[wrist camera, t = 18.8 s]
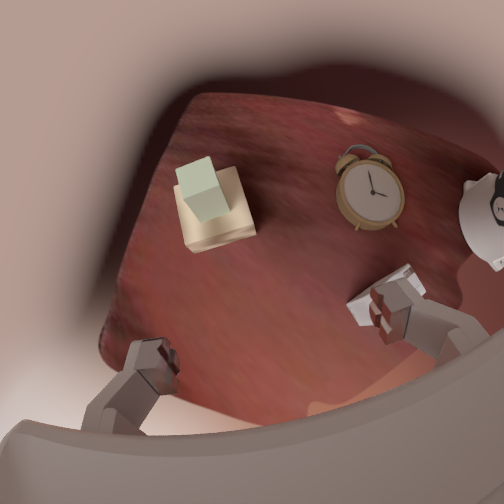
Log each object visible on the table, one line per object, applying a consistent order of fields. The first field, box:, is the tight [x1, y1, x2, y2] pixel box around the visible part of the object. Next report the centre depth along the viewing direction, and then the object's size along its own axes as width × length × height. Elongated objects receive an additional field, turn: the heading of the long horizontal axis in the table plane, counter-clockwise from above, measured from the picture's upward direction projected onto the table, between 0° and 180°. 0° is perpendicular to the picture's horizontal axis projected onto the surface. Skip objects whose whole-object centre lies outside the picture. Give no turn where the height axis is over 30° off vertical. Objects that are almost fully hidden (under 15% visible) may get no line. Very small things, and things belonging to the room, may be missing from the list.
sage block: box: [175, 156, 230, 223], centre depth 35 cm, size 4×4×8 cm
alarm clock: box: [335, 144, 405, 231], centre depth 41 cm, size 11×5×15 cm
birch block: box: [174, 166, 257, 254], centre depth 41 cm, size 10×10×5 cm
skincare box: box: [346, 264, 426, 326], centre depth 32 cm, size 6×4×12 cm
